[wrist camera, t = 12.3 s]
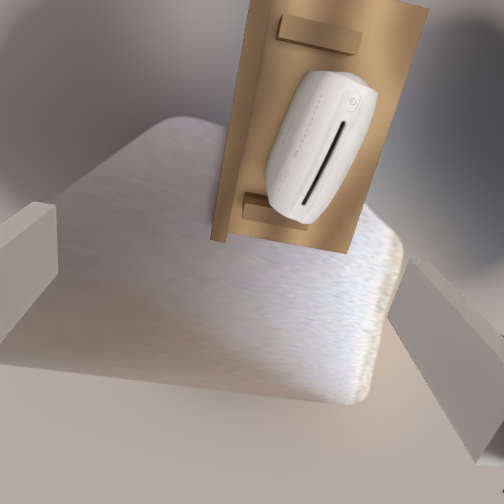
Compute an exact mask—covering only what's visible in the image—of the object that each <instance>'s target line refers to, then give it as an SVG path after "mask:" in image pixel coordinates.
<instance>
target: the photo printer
mask: <svg viewBox="0 0 504 504" xmlns="http://www.w3.org/2000/svg"><path fill="white" fill-rule="evenodd" d="M377 98H378V93H377V92H376V91H375V90H373V89H371V88H369V86H368V84H367V83H366V82H365V81H364V80H363V79H362V78H360V77H359V76H357V75H355V74H352V73H350V72H333V71H308V72H307V73H306V74H305V76H304V77H303V79H302V80H301V82H300V84H299V86H298V88H297V90H296V92H295V94H294V96H293V98H292V100H291V103H290V105H289V107H288V109H287V112H286V114H285V116H284V119H283V121H282V123H281V126H280V128H279V131H278V133H277V136H276V138H275V141H274V143H273V146H272V148H271V151H270V154H269V157H268V159H267V163H266V166H265V172H264V176H265V182H266V189H267V194H268V200H269V204H270V205H271V206H272V207H273V208H274V209H275V210H276V211H277V212H279V213H280V214H282V215H284V216H285V217H287V218H290V219H293V220H297V221H298V222H300V223H303V224H312V223H313V222H314V221H315V220H316V219H317V218H318V217H319V216H320V215H321V214H322V213H323V212H324V211H325V209H326V208H327V207H328V205H329V204H330V202H331V201H332V199H333V197H334V196H335V194H336V192H337V191H338V189H339V187H340V186H341V184H342V182H343V180H344V178H345V177H346V175H347V173H348V171H349V169H350V167H351V165H352V163H353V161H354V159H355V157H356V155H357V153H358V151H359V149H360V147H361V145H362V142H363V140H364V138H365V136H366V134H367V131H368V129H369V127H370V124H371V120H372V117H373V114H374V111H375V107H376V103H377Z"/></svg>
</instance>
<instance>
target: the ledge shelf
mask: <svg viewBox="0 0 504 504" xmlns="http://www.w3.org/2000/svg"><path fill="white" fill-rule="evenodd" d="M428 12H429V9H428V8H423V7H420V6H415V5H411V4H407V3H403V2H399V1H395V0H250V5H249V11H248V17H247V23H246V29H245V34H244V40H243V46H242V52H241V58H240V65H239V70H238V76H237V82H236V88H235V94H234V100H233V106H232V112H231V117H230V124H229V129H228V135H227V141H226V147H225V153H224V159H223V165H222V171H221V177H220V183H219V189H218V194H217V200H216V206H215V212H214V218H213V224H212V230H211V236H210V240H214V241H220V242H225V243H226V238H227V233H233V234H239V235H244V236H250V237H255V238H261V239H266V240H272V241H277V242H283V243H288V244H294V245H299V246H305V247H310V248H316V249H321V250H327V251H332V252H338V253H343V254H347V252H348V249H349V246H350V243H351V240H352V237H353V234H354V231H355V228H356V225H357V222H358V219H359V216H360V213H361V210H362V207H363V204H364V202H365V199H366V195H367V193H368V190H369V187H370V184H371V181H372V178H373V175H374V172H375V169H376V166H377V163H378V160H379V157H380V154H381V151H382V148H383V145H384V142H385V139H386V137H387V134H388V130H389V128H390V125H391V122H392V119H393V116H394V113H395V110H396V107H397V104H398V101H399V98H400V95H401V92H402V89H403V86H404V83H405V80H406V77H407V74H408V72H409V69H410V66H411V63H412V60H413V56H414V54H415V51H416V48H417V45H418V42H419V39H420V36H421V33H422V30H423V27H424V24H425V21H426V18H427V15H428ZM308 71H333V72H350V73H352V74H355V75H357V76H359V77H360V78H362V79H363V80H364V81H365V82H366V83H367V84H368V86H369V88H371V89H373V90H375V91H376V92H377V93H378V98H377V103H376V107H375V111H374V114H373V117H372V120H371V124H370V127H369V129H368V131H367V134H366V136H365V138H364V140H363V142H362V145H361V147H360V149H359V151H358V153H357V155H356V157H355V159H354V161H353V163H352V165H351V167H350V169H349V171H348V173H347V175H346V177H345V178H344V180H343V182H342V184H341V186H340V187H339V189H338V191H337V192H336V194H335V196H334V197H333V199H332V201H331V202H330V204H329V205H328V207H327V208H326V209H325V211H324V212H323V213H322V214H321V215H320V216H319V217H318V218H317V219H316V220H315V221H314V222H313V223H312V224H303V223H300V222H298V221H297V220H293V219H290V218H287V217H285V216H284V215H282V214H280V213H279V212H277V211H276V210H275V209H274V208H273V207H272V206H271V205H270V204H269V200H268V194H267V189H266V182H265V176H264V172H265V166H266V163H267V159H268V157H269V154H270V151H271V148H272V146H273V143H274V141H275V138H276V136H277V133H278V131H279V128H280V126H281V123H282V121H283V119H284V116H285V114H286V112H287V109H288V107H289V105H290V103H291V100H292V98H293V96H294V94H295V92H296V90H297V88H298V86H299V84H300V82H301V80H302V79H303V77H304V76H305V74H306V73H307V72H308Z"/></svg>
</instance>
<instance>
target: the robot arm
mask: <svg viewBox="0 0 504 504" xmlns="http://www.w3.org/2000/svg"><path fill="white" fill-rule="evenodd" d="M57 275H58V247H57V217H56V205H54V204H47V203H41V202H31V203H30V204H29V205H27V206H26V207H24V208H23V209H21V210H20V211H18V212H17V213H15V214H14V215H12V216H11V217H10V218H8V219H7V220H5V221H4V222H2V223H1V224H0V343H1V342H2V341H3V340H4V338H5V337H6V336H7V335H8V334H9V332H10V331H11V330H12V329H13V328H14V326H15V325H16V324H17V323H18V322H19V320H20V319H21V318H22V317H23V316H24V314H25V313H26V312H27V311H28V309H29V308H30V307H31V306H32V305H33V303H34V302H35V301H36V300H37V299H38V297H39V296H40V295H41V294H42V293H43V291H44V290H45V289H46V288H47V287H48V285H49V284H50V283H51V282H52V281H53V279H54V278H55V277H56V276H57ZM387 318H388V320H389V321H390V323H391V325H392V326H393V328H394V330H395V331H396V333H397V335H398V336H399V338H400V340H401V341H402V343H403V344H404V346H405V348H406V350H407V351H408V353H409V355H410V356H411V358H412V359H413V361H414V363H415V364H416V366H417V368H418V369H419V371H420V373H421V374H422V376H423V377H424V379H425V381H426V383H427V384H428V386H429V387H430V389H431V391H432V393H433V394H434V396H435V397H436V399H437V401H438V402H439V404H440V406H441V407H442V409H443V411H444V412H445V414H446V416H447V417H448V419H449V421H450V422H451V424H452V426H453V427H454V429H455V431H456V432H457V434H458V435H459V437H460V439H461V440H462V442H463V444H464V445H465V447H466V449H467V450H468V452H469V454H470V455H471V457H472V459H473V460H474V462H475V463H476V464H483V465H494V466H503V464H504V336H502V335H501V334H500V333H498V331H497V330H496V329H495V328H494V327H493V326H492V325H491V324H490V323H489V322H488V321H487V320H486V319H485V318H484V317H483V316H482V315H481V314H480V313H479V312H478V311H477V310H476V309H475V308H474V307H473V306H472V305H471V304H470V303H469V302H468V301H467V300H466V299H465V298H464V297H463V296H462V295H461V294H460V293H459V292H458V291H457V290H456V289H455V288H454V287H453V286H452V285H451V284H450V283H449V282H448V281H447V280H446V279H445V278H444V277H443V276H442V275H441V273H440V272H439V271H437V269H436V268H434V266H433V265H431V263H430V262H429V261H424V260H418V259H411V258H410V259H409V262H408V264H407V267H406V270H405V272H404V274H403V277H402V280H401V282H400V285H399V287H398V290H397V292H396V295H395V297H394V300H393V303H392V305H391V307H390V310H389V312H388V315H387ZM503 493H504V490H503Z"/></svg>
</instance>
